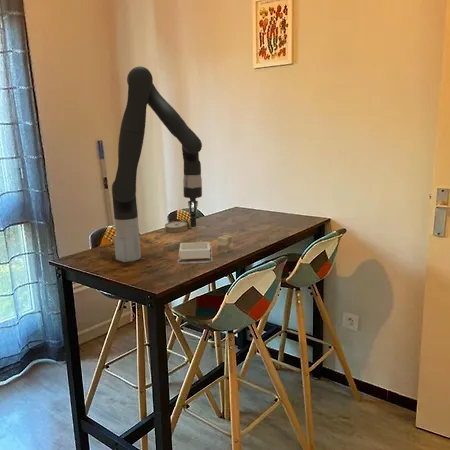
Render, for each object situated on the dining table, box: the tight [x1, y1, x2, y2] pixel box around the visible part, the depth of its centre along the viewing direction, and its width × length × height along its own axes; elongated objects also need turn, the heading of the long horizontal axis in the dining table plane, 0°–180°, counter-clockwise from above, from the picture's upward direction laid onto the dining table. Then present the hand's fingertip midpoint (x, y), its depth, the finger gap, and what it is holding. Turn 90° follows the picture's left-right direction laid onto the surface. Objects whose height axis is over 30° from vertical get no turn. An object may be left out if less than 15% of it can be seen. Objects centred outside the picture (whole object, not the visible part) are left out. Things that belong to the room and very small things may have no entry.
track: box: [176, 243, 214, 265], centre depth 195 cm, size 25×14×1 cm, turn 3°
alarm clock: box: [163, 218, 192, 234], centre depth 237 cm, size 11×5×15 cm
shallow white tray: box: [177, 241, 213, 260], centre depth 190 cm, size 12×13×4 cm
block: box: [217, 234, 234, 254], centre depth 198 cm, size 4×4×6 cm
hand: (193, 226), depth 196 cm, fingers closed
